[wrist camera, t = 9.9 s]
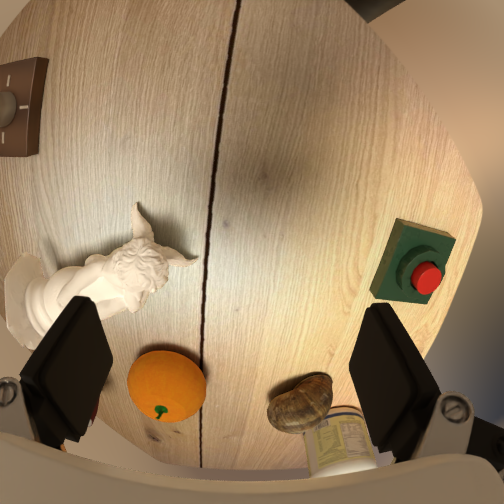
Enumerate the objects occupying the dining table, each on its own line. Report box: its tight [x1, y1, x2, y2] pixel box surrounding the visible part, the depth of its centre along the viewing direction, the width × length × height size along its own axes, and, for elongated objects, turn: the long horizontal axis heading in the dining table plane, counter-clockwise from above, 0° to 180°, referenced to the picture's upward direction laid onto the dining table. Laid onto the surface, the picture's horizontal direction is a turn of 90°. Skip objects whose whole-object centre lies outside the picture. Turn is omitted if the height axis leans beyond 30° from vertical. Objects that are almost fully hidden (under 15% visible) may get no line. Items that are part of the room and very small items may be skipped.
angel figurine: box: [4, 203, 198, 350], centre depth 29 cm, size 14×20×12 cm
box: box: [370, 219, 456, 304], centre depth 33 cm, size 10×9×4 cm
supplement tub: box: [303, 407, 377, 478], centre depth 43 cm, size 12×12×17 cm
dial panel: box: [0, 57, 49, 157], centre depth 24 cm, size 12×9×3 cm
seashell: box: [267, 375, 333, 434], centre depth 42 cm, size 11×9×8 cm
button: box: [411, 261, 442, 295], centre depth 31 cm, size 4×4×2 cm
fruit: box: [127, 350, 206, 422], centre depth 38 cm, size 12×12×10 cm
